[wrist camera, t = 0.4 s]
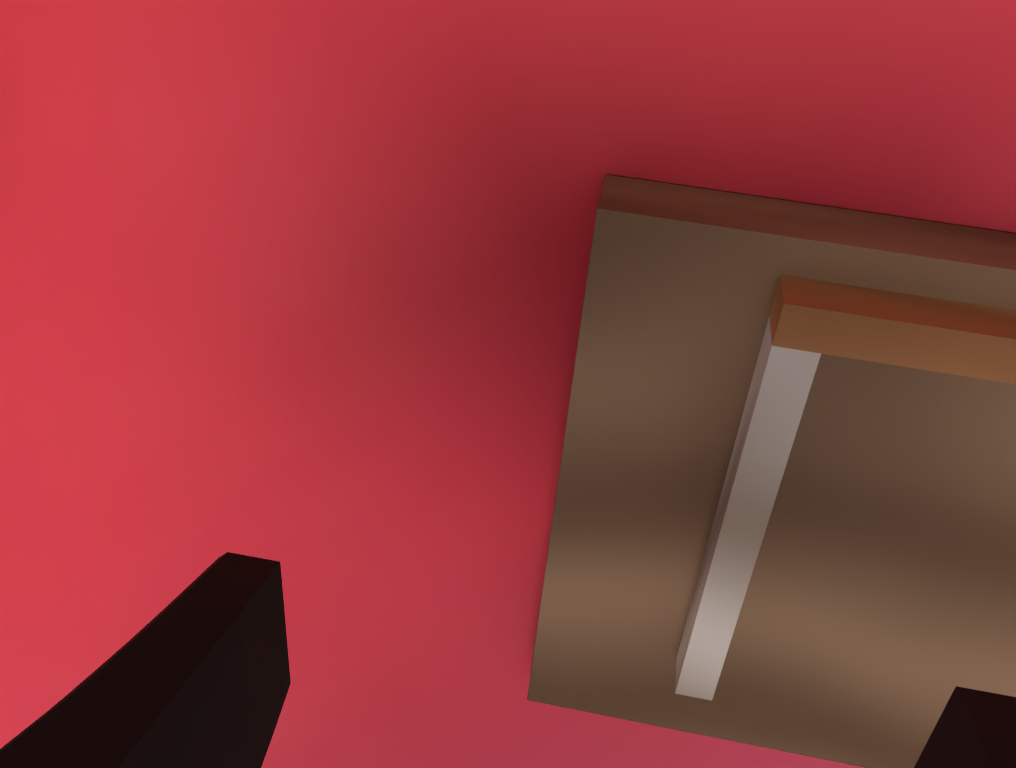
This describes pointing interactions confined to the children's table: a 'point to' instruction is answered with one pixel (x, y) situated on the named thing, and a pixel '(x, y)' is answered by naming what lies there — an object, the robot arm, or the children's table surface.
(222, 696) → the robot arm
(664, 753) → the children's table surface
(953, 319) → the dock
